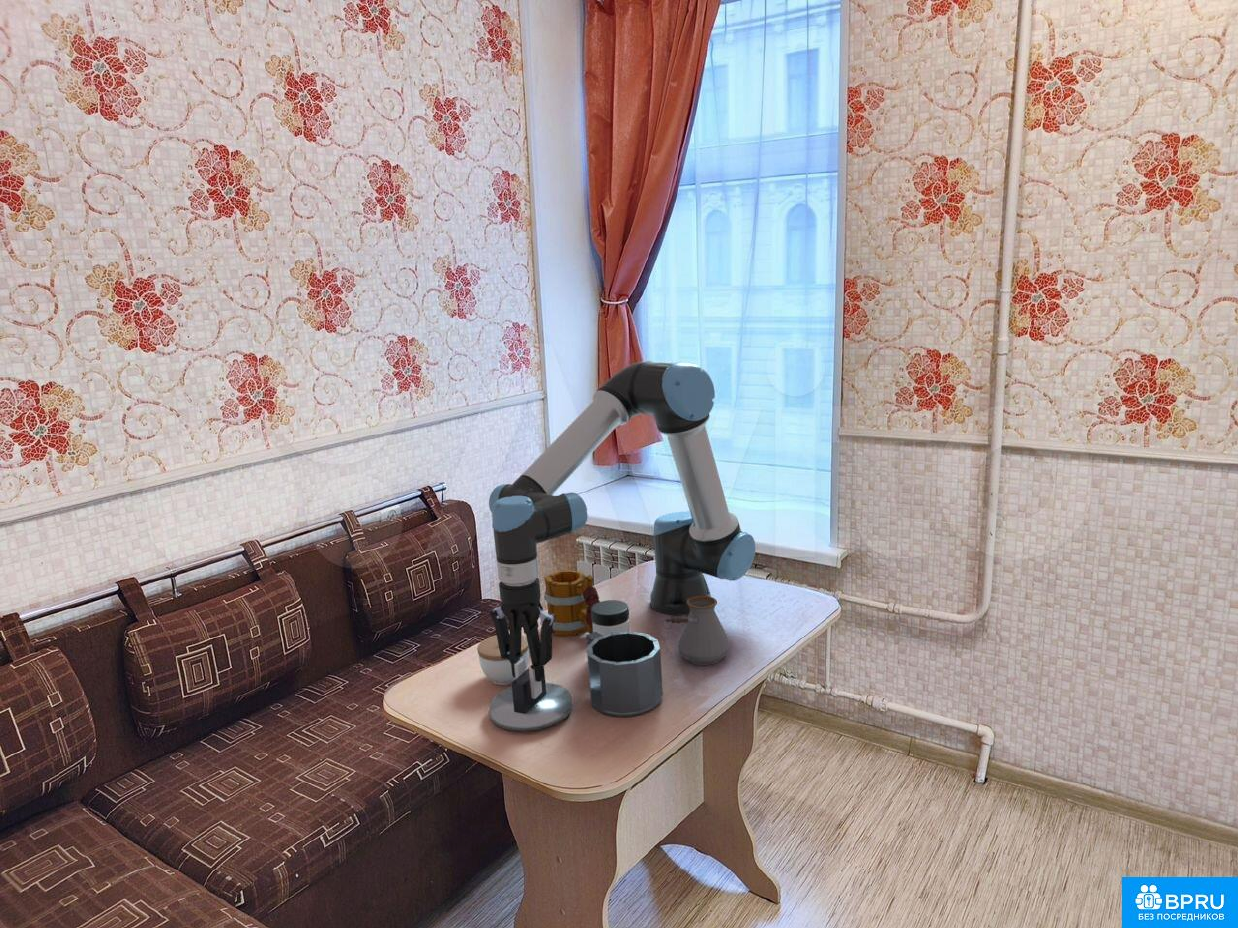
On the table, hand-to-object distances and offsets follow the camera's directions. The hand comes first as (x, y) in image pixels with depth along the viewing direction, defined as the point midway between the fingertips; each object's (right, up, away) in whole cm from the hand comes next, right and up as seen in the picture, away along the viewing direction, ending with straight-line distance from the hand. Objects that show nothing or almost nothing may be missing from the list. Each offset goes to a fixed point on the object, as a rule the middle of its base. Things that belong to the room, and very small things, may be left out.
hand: (529, 693), depth 160 cm
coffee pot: (+33, +1, +15) cm, 36 cm away
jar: (+16, +2, +21) cm, 27 cm away
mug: (+7, +5, +37) cm, 38 cm away
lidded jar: (-7, -1, +16) cm, 17 cm away
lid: (0, -4, +1) cm, 4 cm away
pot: (+17, -2, +6) cm, 18 cm away
